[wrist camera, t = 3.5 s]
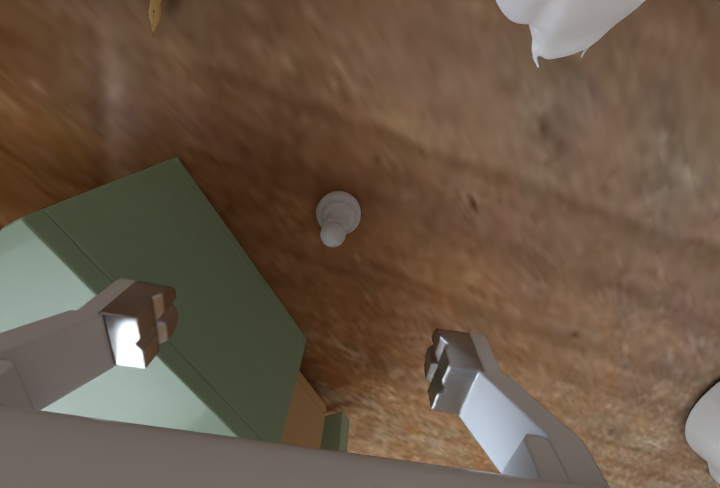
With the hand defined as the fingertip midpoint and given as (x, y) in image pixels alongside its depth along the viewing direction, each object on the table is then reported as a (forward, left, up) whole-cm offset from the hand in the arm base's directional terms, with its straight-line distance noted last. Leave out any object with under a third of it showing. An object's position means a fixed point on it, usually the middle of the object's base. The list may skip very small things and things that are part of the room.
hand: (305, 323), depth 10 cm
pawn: (0, 0, -10) cm, 10 cm away
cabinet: (+11, +7, -10) cm, 16 cm away
